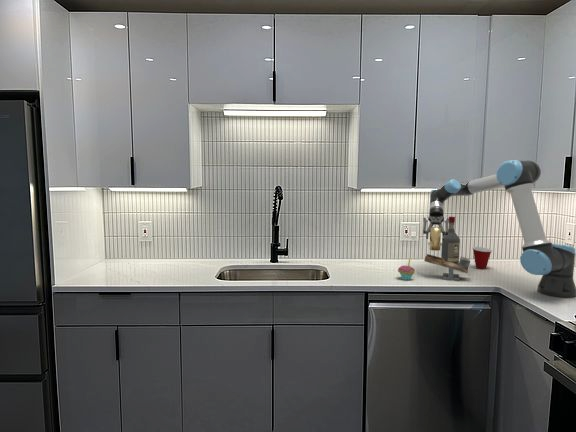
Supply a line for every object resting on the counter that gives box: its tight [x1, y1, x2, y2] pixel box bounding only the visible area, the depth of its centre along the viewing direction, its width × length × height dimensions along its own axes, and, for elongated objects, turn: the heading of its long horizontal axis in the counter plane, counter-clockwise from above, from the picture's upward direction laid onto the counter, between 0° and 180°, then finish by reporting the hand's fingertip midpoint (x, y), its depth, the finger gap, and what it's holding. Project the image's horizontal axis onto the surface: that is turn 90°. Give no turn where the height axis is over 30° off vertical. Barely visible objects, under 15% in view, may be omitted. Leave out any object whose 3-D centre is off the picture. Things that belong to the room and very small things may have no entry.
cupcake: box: [397, 258, 416, 281], centre depth 204 cm, size 9×8×12 cm
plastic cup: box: [472, 246, 493, 270], centre depth 229 cm, size 11×11×12 cm
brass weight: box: [429, 226, 441, 251], centre depth 208 cm, size 6×6×12 cm
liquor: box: [440, 216, 461, 265], centre depth 238 cm, size 9×9×30 cm
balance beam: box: [423, 253, 471, 274], centre depth 206 cm, size 22×8×6 cm, turn 67°
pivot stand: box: [442, 262, 460, 282], centre depth 206 cm, size 8×11×8 cm
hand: (434, 243), depth 205 cm, fingers closed on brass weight, 5 cm apart
